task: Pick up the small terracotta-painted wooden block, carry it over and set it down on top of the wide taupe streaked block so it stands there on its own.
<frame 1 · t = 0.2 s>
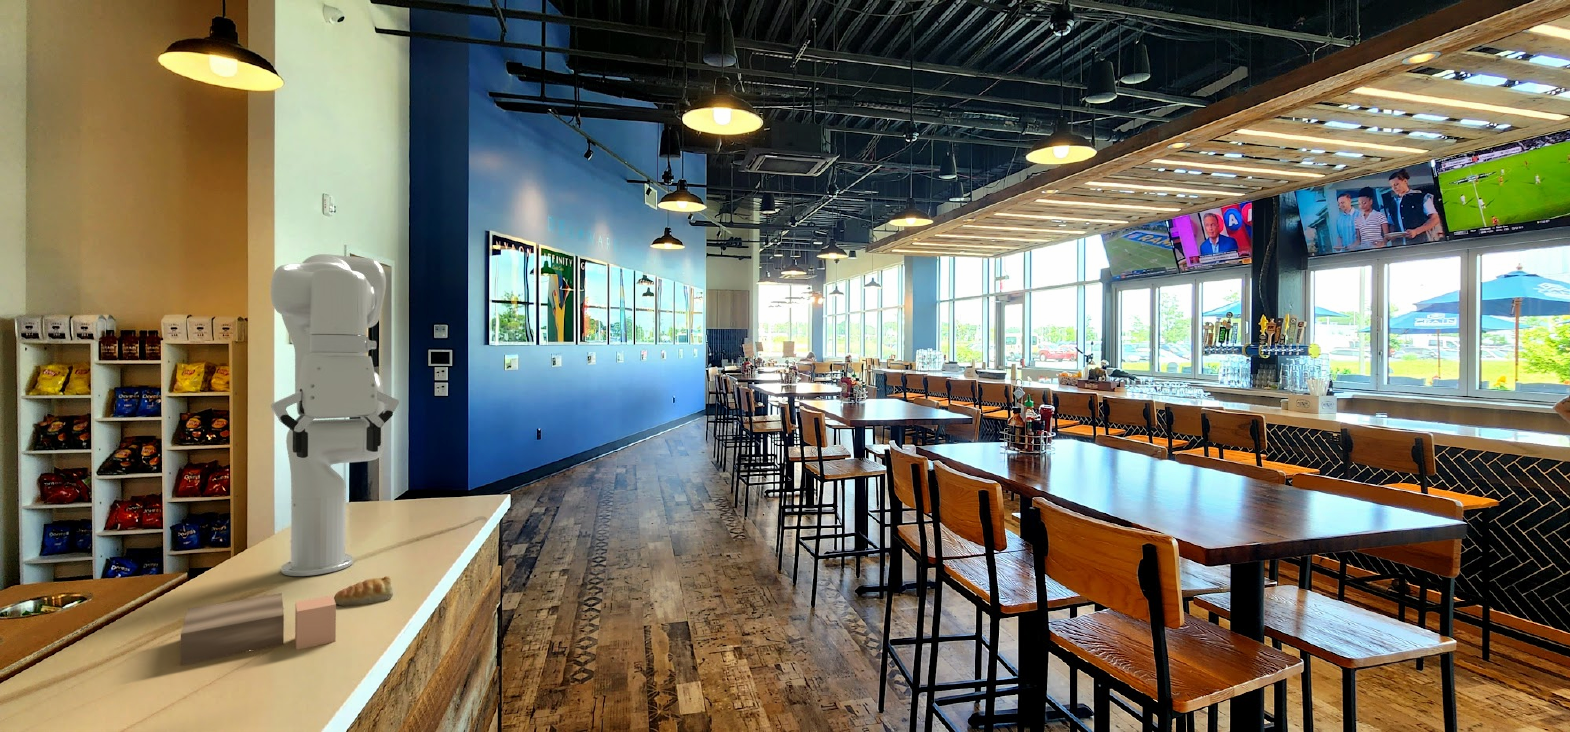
hand: (338, 454, 105), 30 cm above the counter, tool pointing down, fingers open, 9 cm apart
pastry: (368, 601, 124), on the counter
terracotta block: (315, 640, 106), on the counter
taupe streaked block: (235, 643, 105), on the counter
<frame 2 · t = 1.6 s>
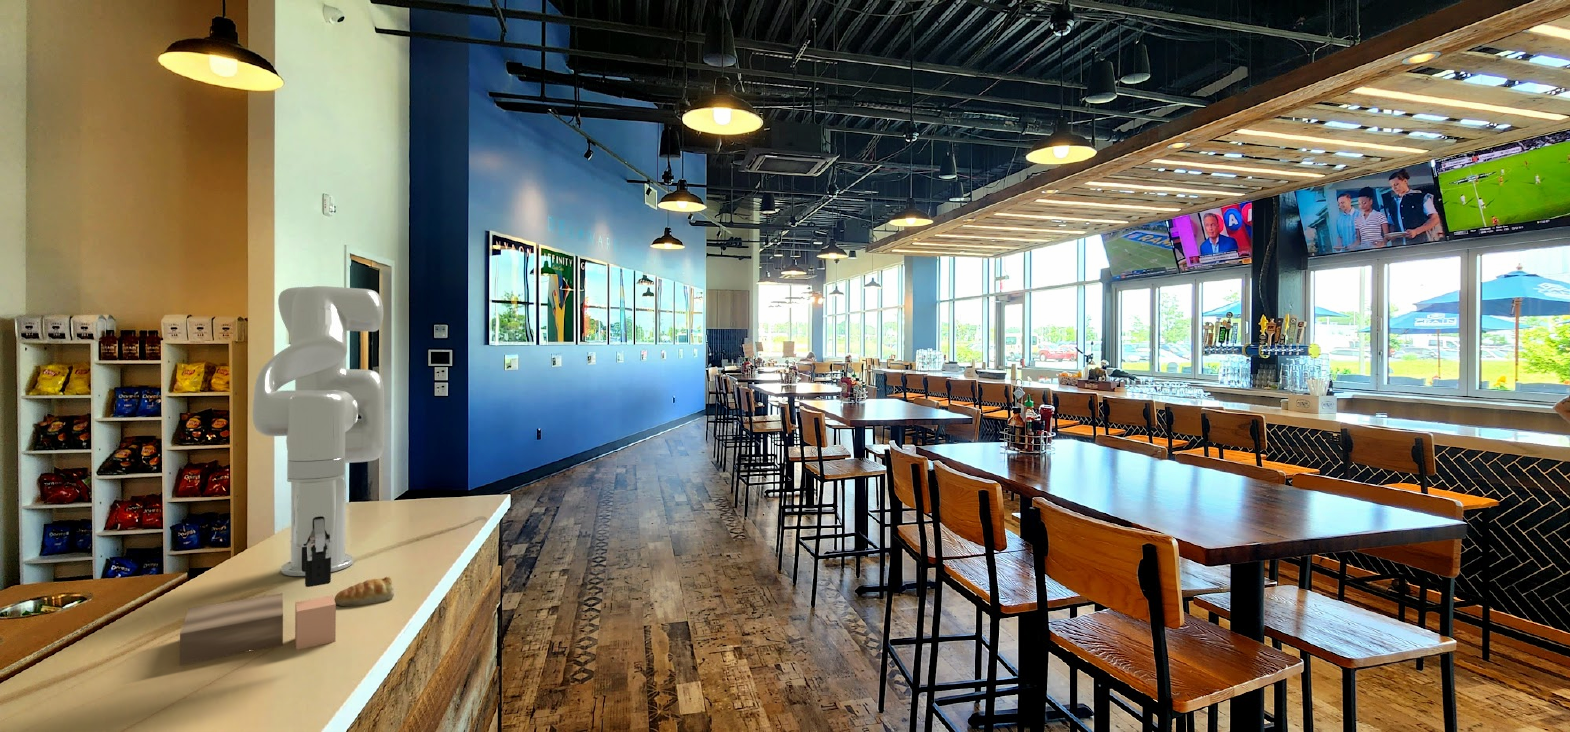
hand: (315, 577, 105), 10 cm above the counter, tool pointing down, fingers open, 9 cm apart
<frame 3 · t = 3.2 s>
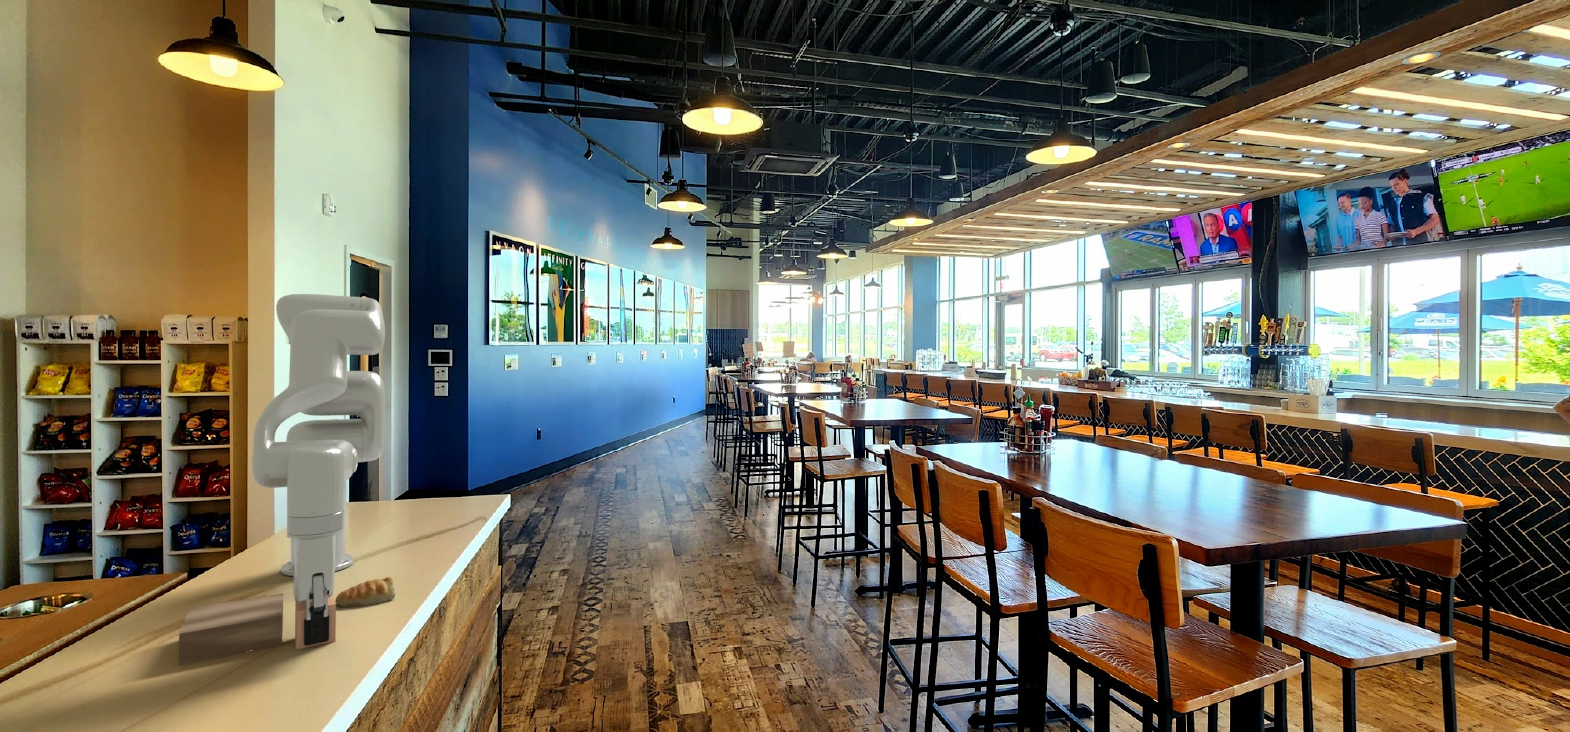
hand: (315, 635, 106), 1 cm above the counter, tool pointing down, fingers closed on terracotta block, 4 cm apart
terracotta block: (315, 640, 106), on the counter, touching gripper
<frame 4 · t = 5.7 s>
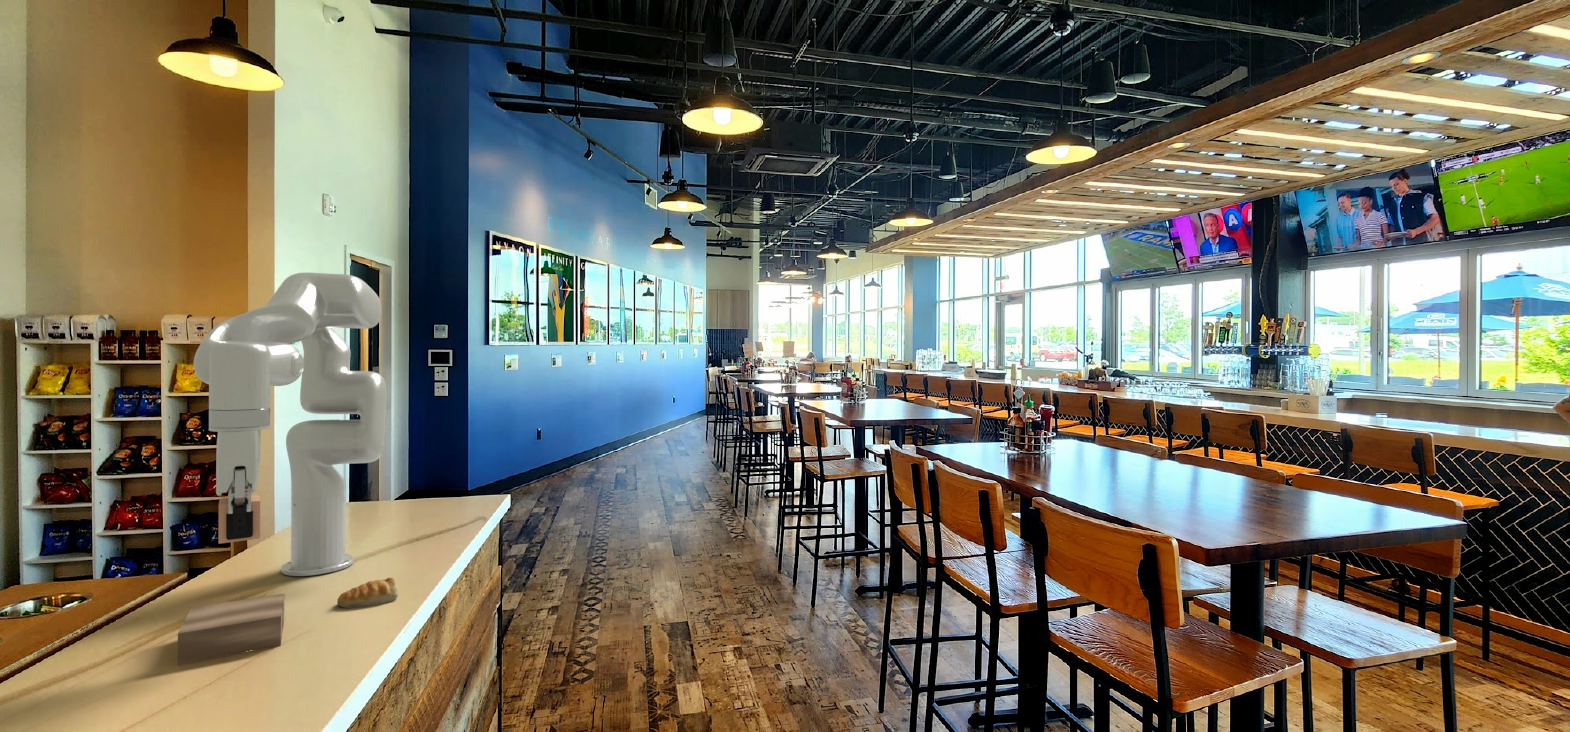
hand: (239, 532, 105), 17 cm above the counter, tool pointing down, fingers closed on terracotta block, 4 cm apart
terracotta block: (239, 537, 105), point 16 cm above the counter, touching gripper
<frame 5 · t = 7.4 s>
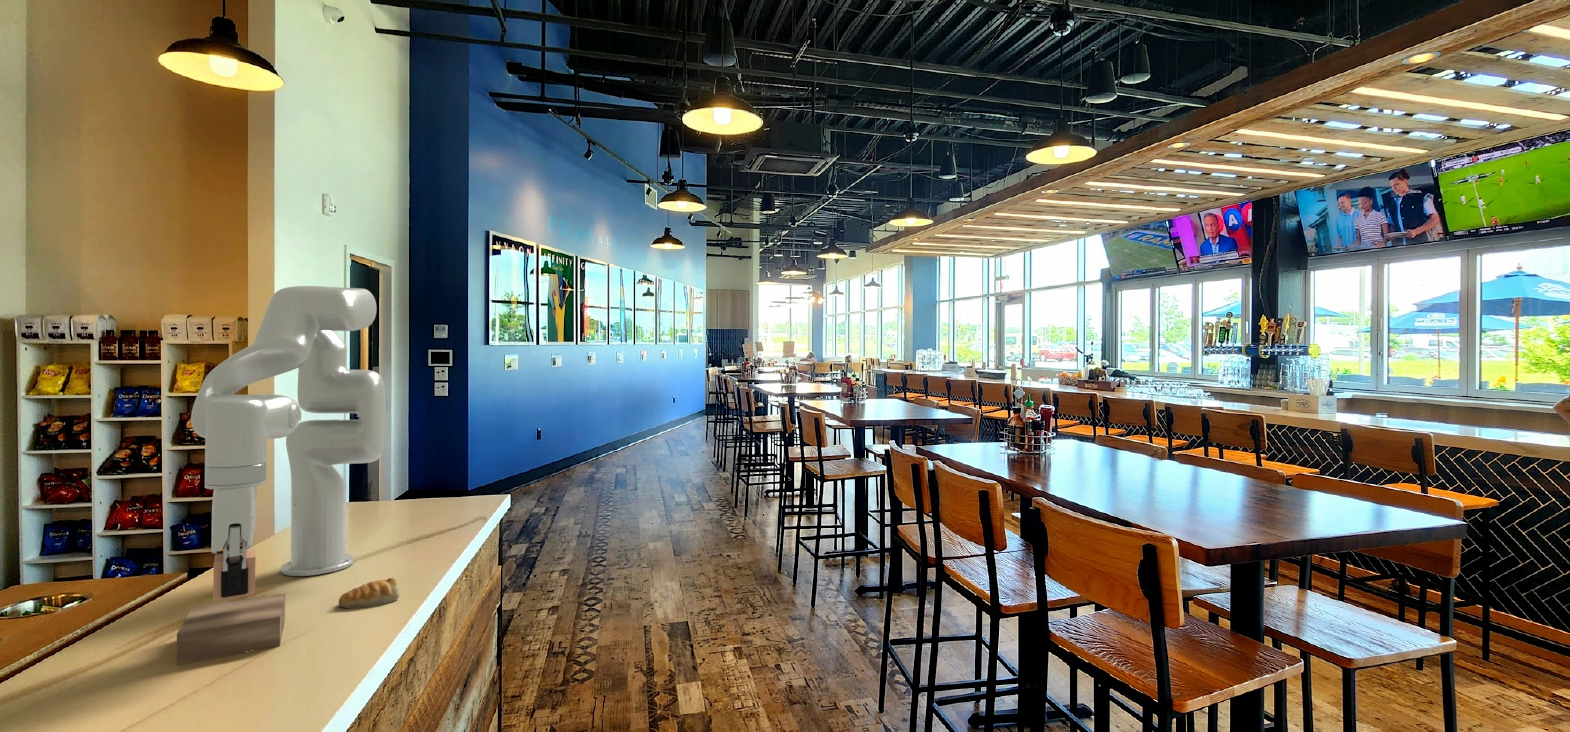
hand: (235, 589, 105), 8 cm above the counter, tool pointing down, fingers closed on terracotta block, 4 cm apart
terracotta block: (234, 593, 105), point 8 cm above the counter, touching gripper
when the fingers open (7 cm above the counter, at t = 8.5 s): terracotta block drops 2 cm, resting on taupe streaked block.
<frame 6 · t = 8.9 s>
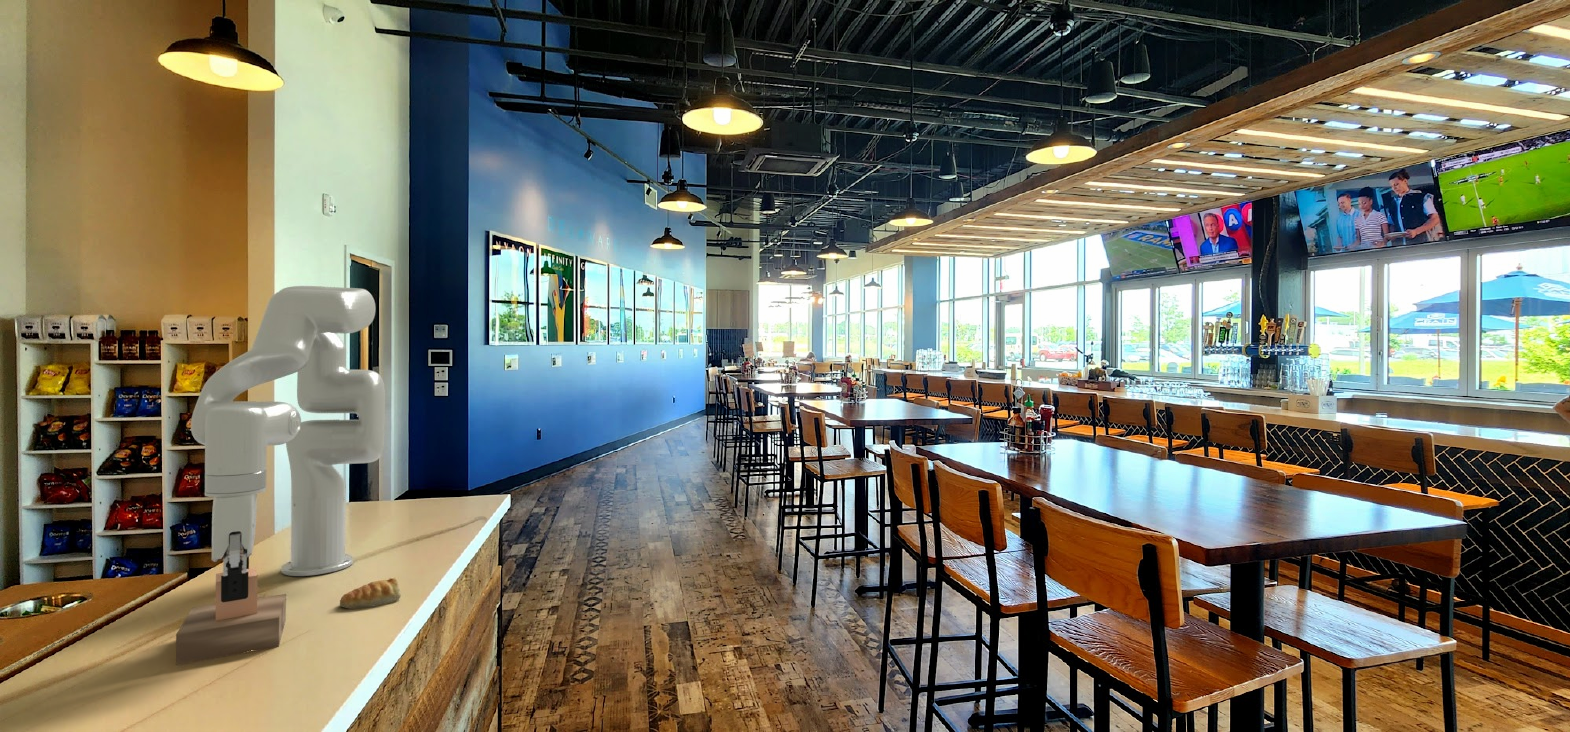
hand: (235, 591, 105), 8 cm above the counter, tool pointing down, fingers open, 9 cm apart
terracotta block: (236, 612, 105), point 5 cm above the counter, touching taupe streaked block
taupe streaked block: (235, 643, 105), on the counter, touching terracotta block
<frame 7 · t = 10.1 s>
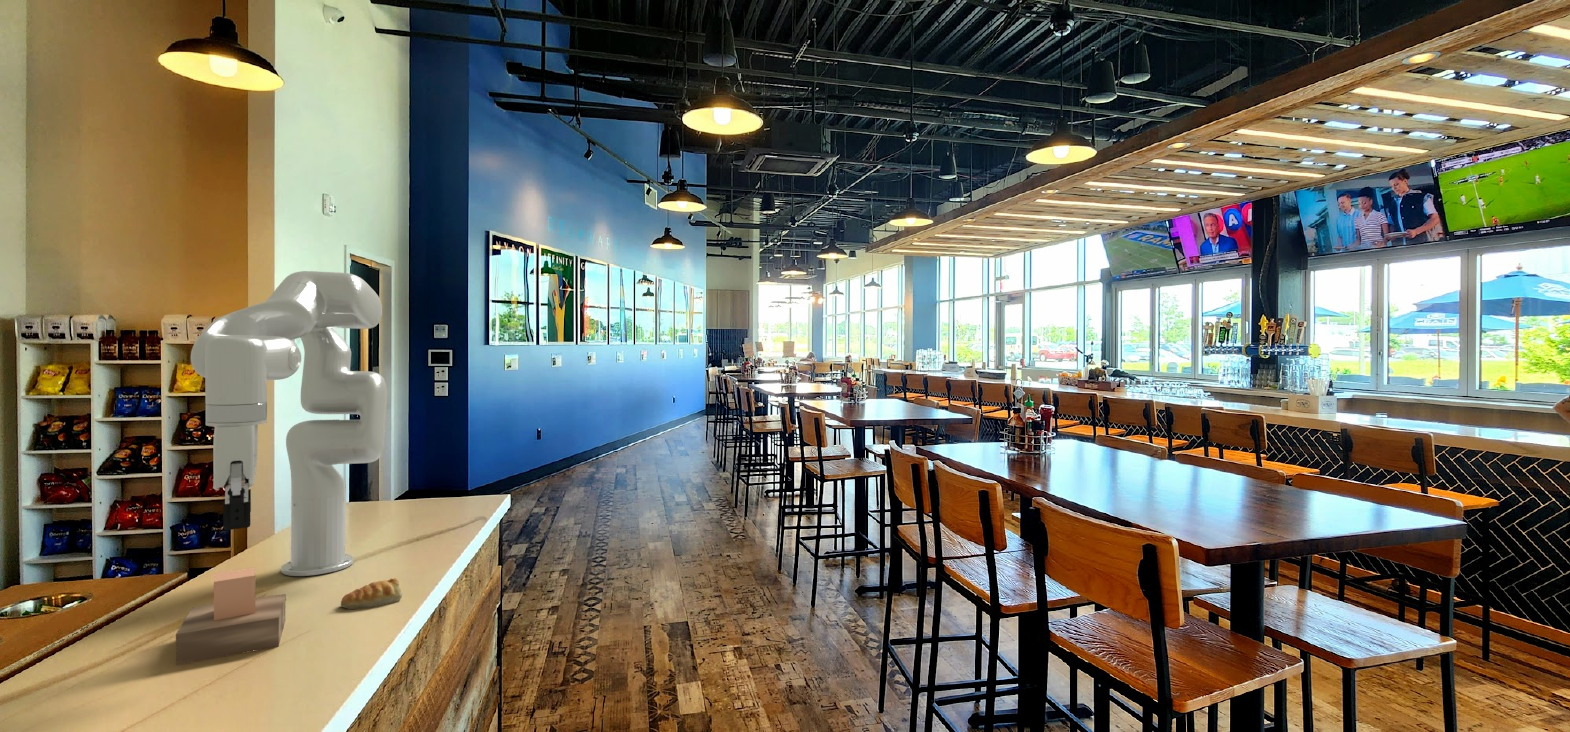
hand: (237, 521, 105), 19 cm above the counter, tool pointing down, fingers open, 9 cm apart
terracotta block: (234, 611, 105), point 5 cm above the counter
taupe streaked block: (234, 643, 105), on the counter
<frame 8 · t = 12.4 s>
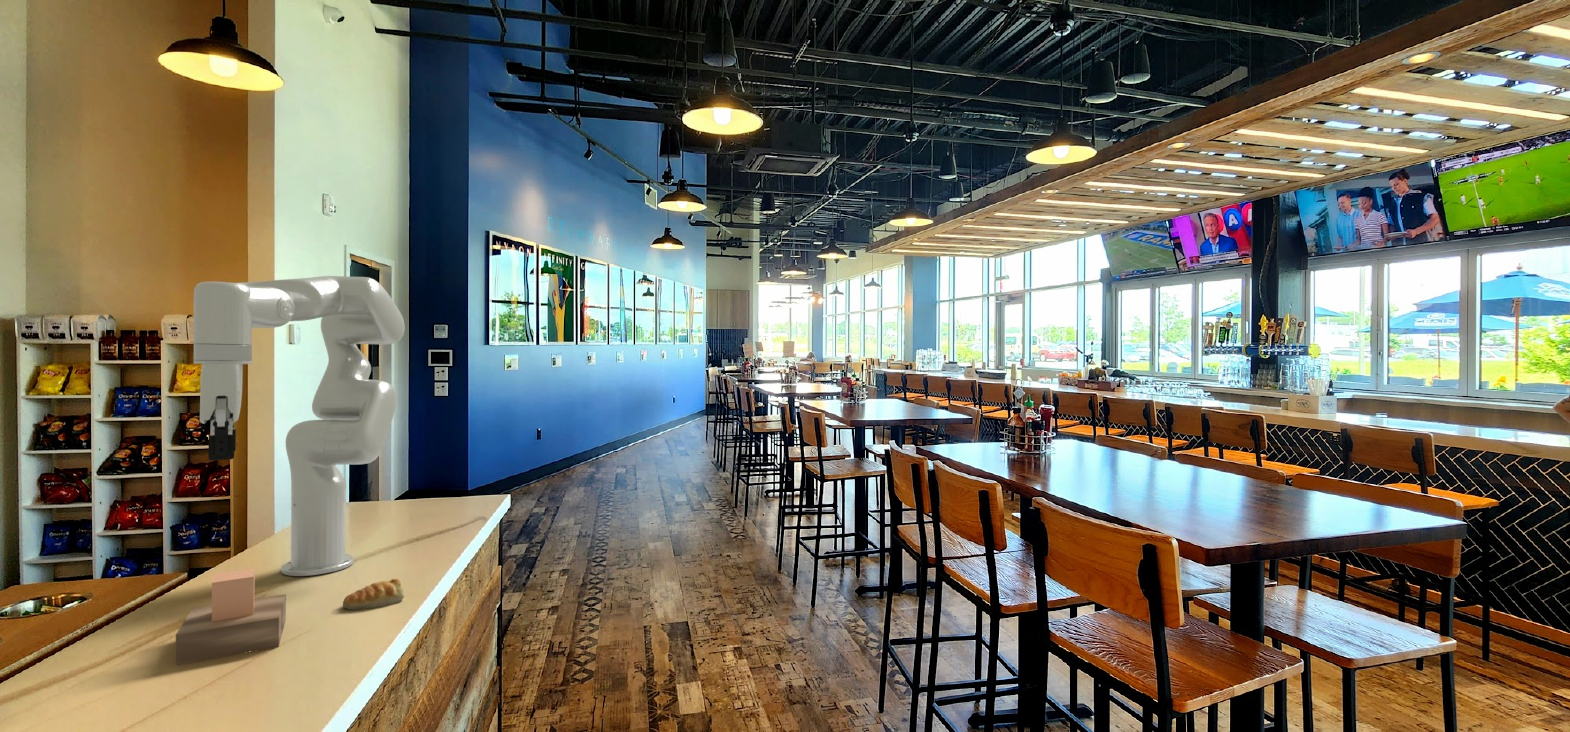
hand: (222, 455, 112), 28 cm above the counter, tool pointing down, fingers open, 9 cm apart
terracotta block: (233, 613, 104), point 5 cm above the counter, touching taupe streaked block
taupe streaked block: (234, 644, 105), on the counter, touching terracotta block
at the end: terracotta block 0.2 cm off-centre on the taupe streaked block, point 5.0 cm above the taupe streaked block's base; terracotta block tilted 0°; the gripper is holding nothing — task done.
